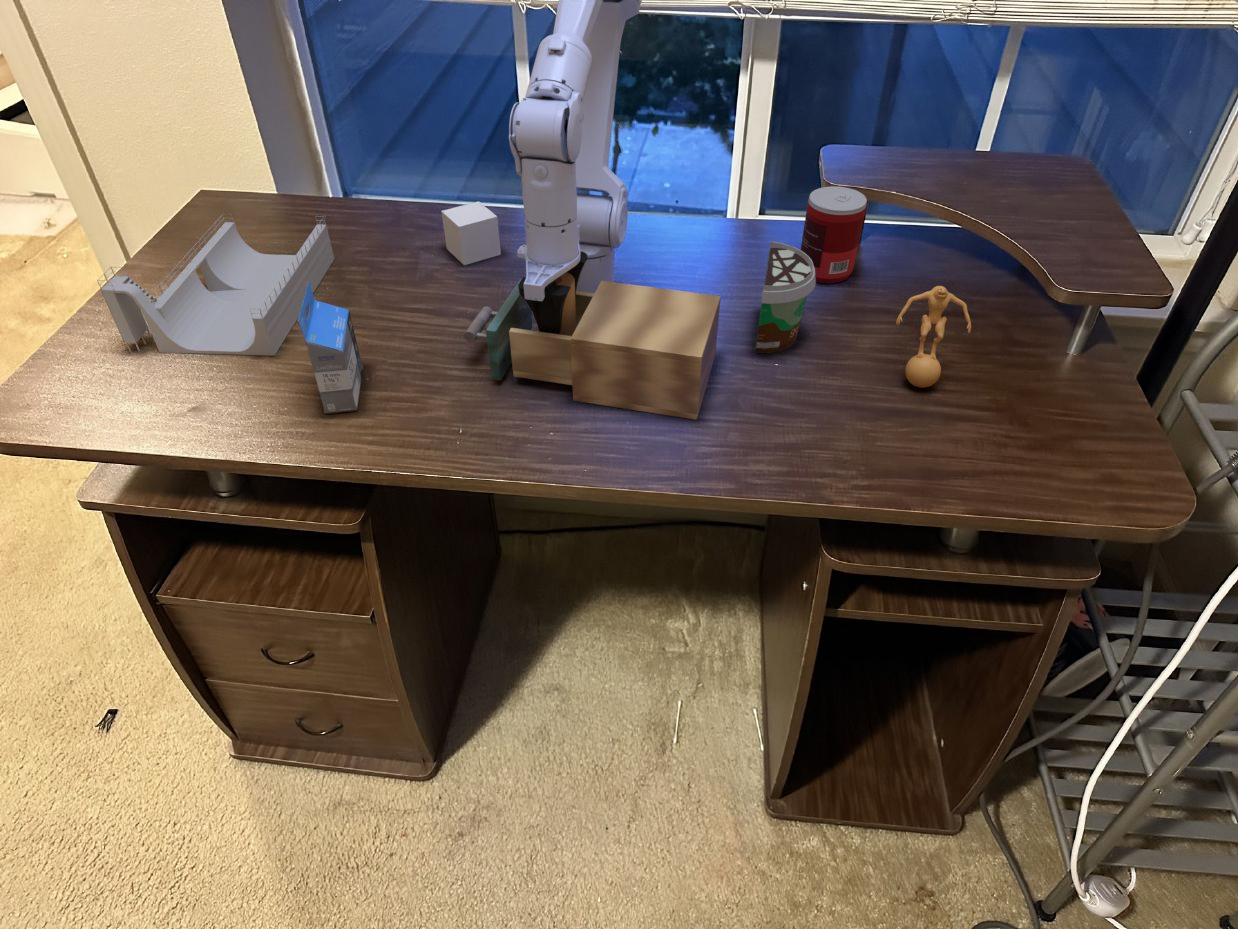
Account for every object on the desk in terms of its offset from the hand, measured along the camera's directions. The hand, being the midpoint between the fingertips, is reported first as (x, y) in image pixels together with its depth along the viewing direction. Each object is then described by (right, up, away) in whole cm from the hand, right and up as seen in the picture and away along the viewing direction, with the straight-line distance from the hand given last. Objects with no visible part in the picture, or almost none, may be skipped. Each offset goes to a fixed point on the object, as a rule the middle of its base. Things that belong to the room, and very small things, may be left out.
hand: (556, 323), depth 101 cm
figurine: (+43, -7, +2) cm, 44 cm away
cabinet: (+11, -6, +2) cm, 12 cm away
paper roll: (0, -1, +1) cm, 1 cm away
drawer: (-2, -4, +4) cm, 5 cm away
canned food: (+37, +11, +22) cm, 44 cm away
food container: (+28, 0, +9) cm, 30 cm away
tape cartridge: (-25, -8, 0) cm, 26 cm away
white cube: (-14, +15, +26) cm, 33 cm away
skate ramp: (-44, +5, +15) cm, 47 cm away
